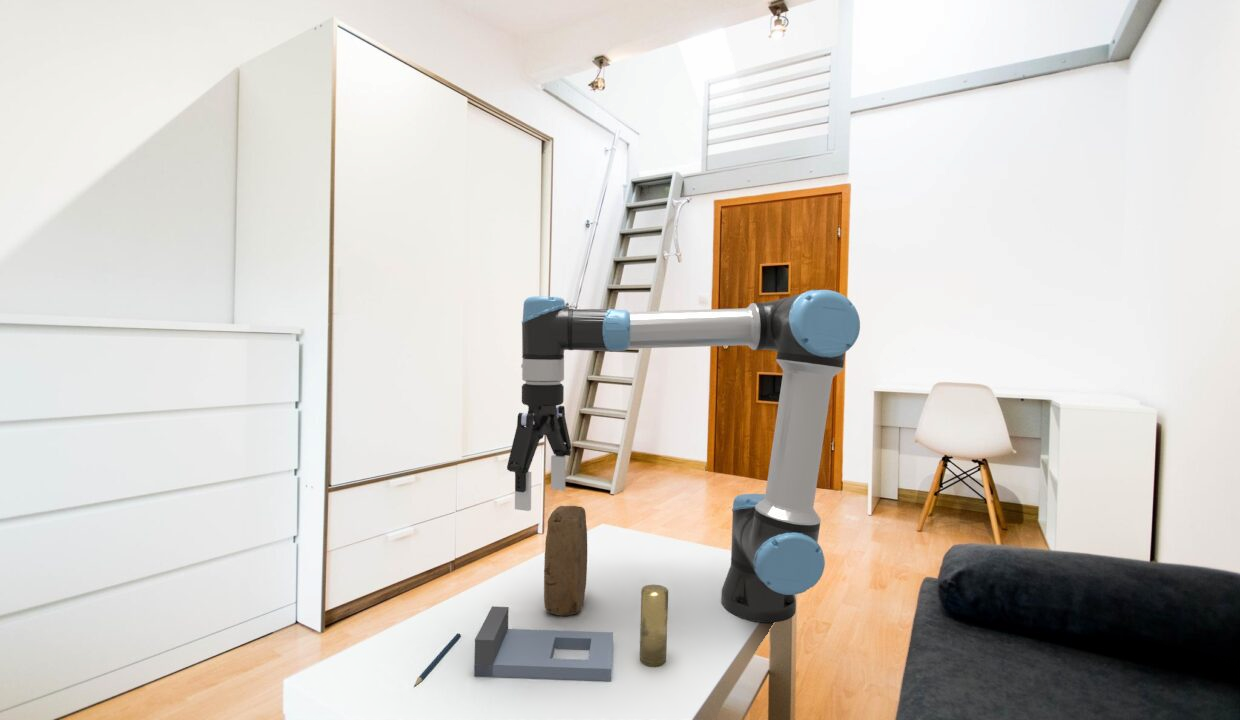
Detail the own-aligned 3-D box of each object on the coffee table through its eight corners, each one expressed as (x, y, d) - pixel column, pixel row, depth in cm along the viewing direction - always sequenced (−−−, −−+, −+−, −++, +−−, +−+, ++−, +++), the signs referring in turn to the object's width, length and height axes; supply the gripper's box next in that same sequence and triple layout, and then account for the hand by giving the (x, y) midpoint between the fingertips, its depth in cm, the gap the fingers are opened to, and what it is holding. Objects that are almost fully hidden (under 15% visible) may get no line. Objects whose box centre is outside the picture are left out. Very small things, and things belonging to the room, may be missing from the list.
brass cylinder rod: (665, 652, 96) (667, 584, 96) (667, 667, 91) (669, 597, 91) (639, 651, 96) (641, 584, 96) (639, 666, 91) (641, 596, 91)
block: (577, 620, 106) (579, 518, 105) (540, 616, 107) (542, 515, 107) (589, 595, 117) (592, 502, 116) (556, 591, 118) (558, 500, 117)
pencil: (460, 638, 99) (416, 689, 84) (455, 637, 99) (410, 688, 85) (461, 633, 99) (417, 684, 84) (456, 633, 99) (411, 683, 84)
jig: (612, 643, 98) (613, 610, 98) (611, 681, 87) (612, 644, 87) (491, 639, 99) (491, 606, 98) (474, 676, 88) (474, 639, 87)
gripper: (554, 377, 112) (553, 480, 112) (486, 386, 88) (485, 516, 89) (588, 379, 109) (587, 484, 110) (527, 388, 86) (525, 522, 86)
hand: (541, 499), depth 99 cm, fingers open, 13 cm apart
